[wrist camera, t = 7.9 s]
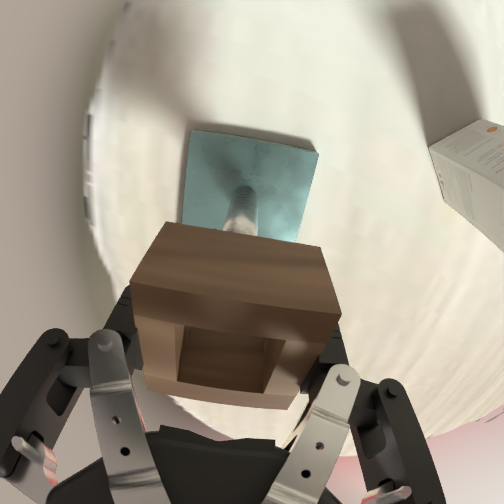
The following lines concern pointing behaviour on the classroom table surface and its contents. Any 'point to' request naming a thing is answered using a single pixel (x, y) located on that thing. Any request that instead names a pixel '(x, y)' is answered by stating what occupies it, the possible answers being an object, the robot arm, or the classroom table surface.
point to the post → (246, 185)
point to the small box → (474, 176)
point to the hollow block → (231, 315)
